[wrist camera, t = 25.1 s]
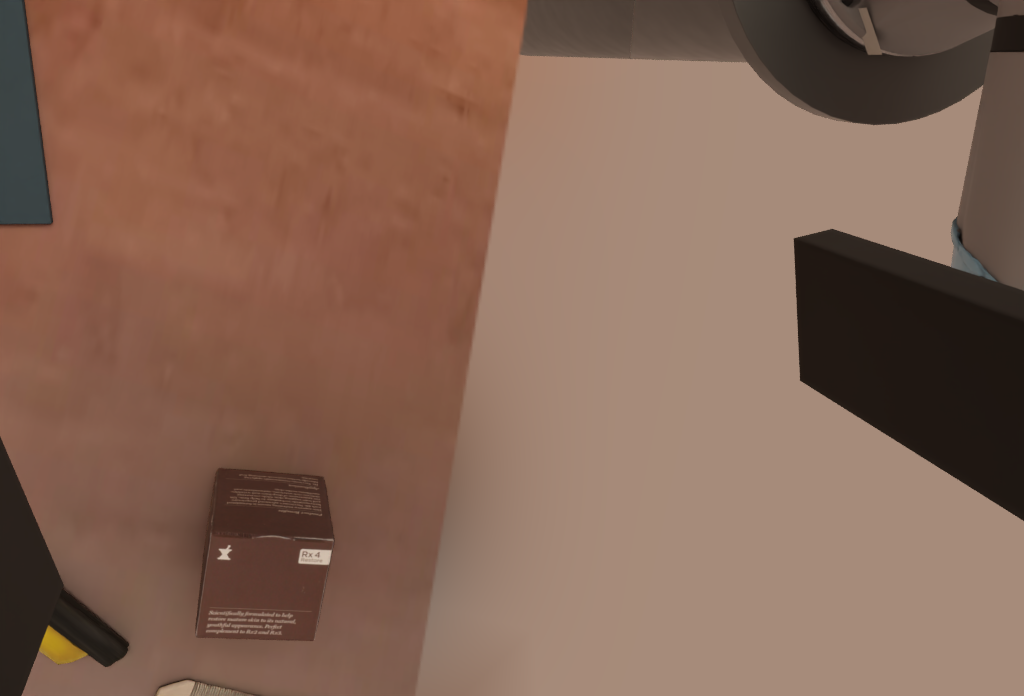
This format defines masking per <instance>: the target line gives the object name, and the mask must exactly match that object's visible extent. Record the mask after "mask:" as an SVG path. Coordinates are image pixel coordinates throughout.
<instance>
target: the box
mask: <svg viewBox="0 0 1024 696" xmlns="http://www.w3.org/2000/svg"><path fill="white" fill-rule="evenodd" d="M334 541H335V540H334V534H333V527H332V522H331V516H330V511H329V504H328V496H327V490H326V485H325V481H324V478H323V477H319V476H307V475H295V474H283V473H272V472H260V471H248V470H235V469H223V468H219V469H218V470H217V472H216V477H215V482H214V488H213V494H212V500H211V506H210V512H209V519H208V525H207V532H206V540H205V548H204V555H203V564H202V573H201V583H200V591H199V600H198V610H197V618H196V637H197V638H226V639H261V640H298V641H314V639H315V635H316V631H317V626H318V622H319V616H320V611H321V606H322V600H323V595H324V590H325V585H326V580H327V575H328V570H329V565H330V561H331V556H332V551H333V546H334Z"/></svg>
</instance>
